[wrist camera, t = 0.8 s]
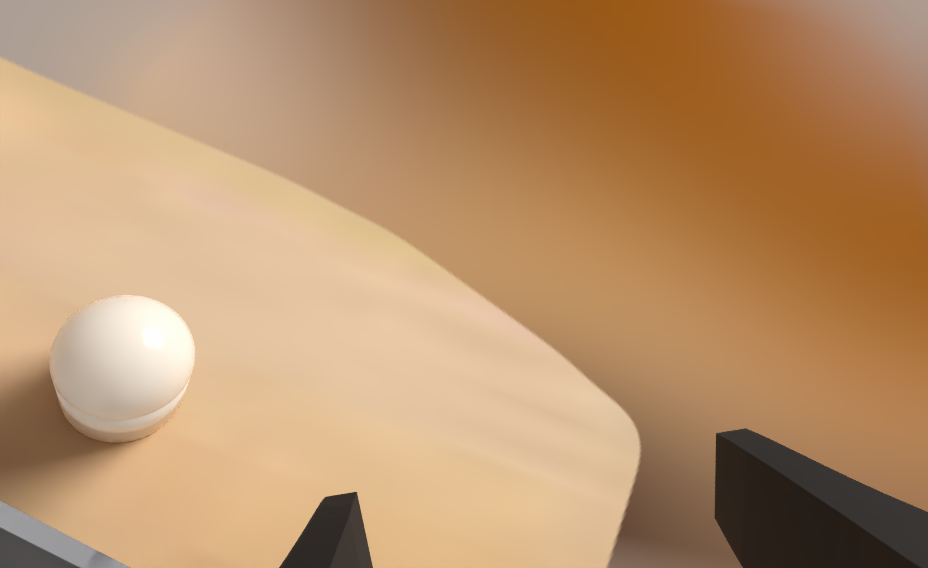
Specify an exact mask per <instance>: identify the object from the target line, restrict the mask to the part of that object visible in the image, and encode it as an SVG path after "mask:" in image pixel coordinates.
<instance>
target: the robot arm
mask: <svg viewBox="0 0 928 568" xmlns="http://www.w3.org/2000/svg"><path fill="white" fill-rule="evenodd" d="M715 519H716V521H717V523H718V525H719V526H720V528H721V530H722V532H723V534H724V536H725V537H726V539H727V541H728V543H729V545H730V546H731V548H732V550H733V552H734V553H735V555H736V557H737V559H738V560H739V562H740V564H741V565H742V567H743V568H928V512H926V511H924V510H921V509H919V508H917V507H914V506H912V505H910V504H907V503H905V502H903V501H900V500H898V499H895V498H893V497H891V496H889V495H886V494H884V493H882V492H880V491H877V490H875V489H873V488H871V487H869V486H866V485H864V484H862V483H860V482H858V481H856V480H853V479H851V478H849V477H847V476H845V475H843V474H841V473H839V472H836V471H834V470H832V469H830V468H828V467H826V466H824V465H822V464H820V463H818V462H816V461H814V460H812V459H810V458H808V457H806V456H804V455H802V454H800V453H797V452H795V451H793V450H791V449H789V448H787V447H785V446H783V445H781V444H779V443H777V442H775V441H773V440H770V439H769V438H766V437H764V436H762V435H760V434H758V433H755V432H753V431H750V430H748V429H740V430H734V431H727V432H722V433H717V434H716V477H715ZM279 568H373V566H372V562H371V557H370V552H369V547H368V543H367V538H366V533H365V529H364V524H363V519H362V514H361V510H360V505H359V500H358V496H357V492H353V493H347V494H341V495H334V496H328V497H325V498H324V499H323V501H322V502H321V503H320V505H319V506H318V508H317V509H316V511H315V513H314V514H313V516H312V518H311V519H310V521H309V523H308V524H307V526H306V527H305V529H304V531H303V532H302V534H301V535H300V537H299V539H298V540H297V542H296V543H295V545H294V546H293V548H292V550H291V551H290V553H289V554H288V556H287V557H286V559H285V560H284V561H283V563H282V564H281V566H280V567H279Z"/></svg>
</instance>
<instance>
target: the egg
mask: <svg viewBox="0 0 928 568" xmlns="http://www.w3.org/2000/svg"><path fill="white" fill-rule="evenodd" d="M49 362H50V373H51V378H52V381H53V384H54V387H55V390H56V394H57V397H58V400H59V403H60V406H61V409H62V411H63V414H64V416H65V417H66V419H67V420H68V422H69V423H70V424H71V425H72V426H73V427H74V428H75V429H76V430H77V431H79V432H80V433H82V434H83V435H85V436H87V437H90V438H92V439H95V440H98V441H103V442H110V443H122V442H130V441H134V440H138V439H141V438H144V437H146V436H149V435H151V434H152V433H154V432H156V431H158V430H159V429H160V428H162V427H163V426H164V425H165V424H166V423H168V422H169V421H170V419H171V418H172V417H173V416H174V415H175V413H176V412H177V410H178V408H179V407H180V405H181V402H182V399H183V397H184V394H185V391H186V388H187V385H188V382H189V380H190V377H191V374H192V371H193V367H194V362H195V346H194V341H193V338H192V335H191V333H190V330H189V328H188V327H187V325H186V323H185V322H184V321H183V319H182V318H181V317H180V316H179V315H178V314H177V313H176V312H175V311H173V310H172V309H171V308H169V307H168V306H166V305H165V304H163V303H161V302H159V301H156V300H154V299H151V298H147V297H143V296H137V295H117V296H111V297H106V298H103V299H99V300H97V301H94V302H92V303H90V304H88V305H86V306H84V307H83V308H81V309H80V310H78V311H77V312H75V313H74V314H73V315H72V316H71V317H70V318H68V320H67V321H66V322H65V323H64V324H63V325H62V327H61V328H60V330H59V331H58V333H57V335H56V337H55V339H54V341H53V344H52V347H51V351H50V358H49Z"/></svg>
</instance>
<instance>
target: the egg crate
mask: <svg viewBox="0 0 928 568" xmlns="http://www.w3.org/2000/svg"><path fill="white" fill-rule="evenodd" d="M0 568H130V567H128V566H126V565H124V564H122V563H120V562H118V561H116V560H114V559H112V558H110V557H109V556H107V555H105V554H103V553H101V552H99V551H97V550H95V549H93V548H91V547H89V546H87V545H85V544H83V543H81V542H79V541H77V540H75V539H74V538H72V537H70V536H68V535H66V534H64V533H62V532H60V531H58V530H56V529H54V528H52V527H50V526H48V525H46V524H44V523H42V522H40V521H39V520H37V519H35V518H33V517H31V516H29V515H27V514H25V513H23V512H21V511H19V510H17V509H15V508H13V507H11V506H9V505H7V504H5V503H4V502H2V501H0Z"/></svg>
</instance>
